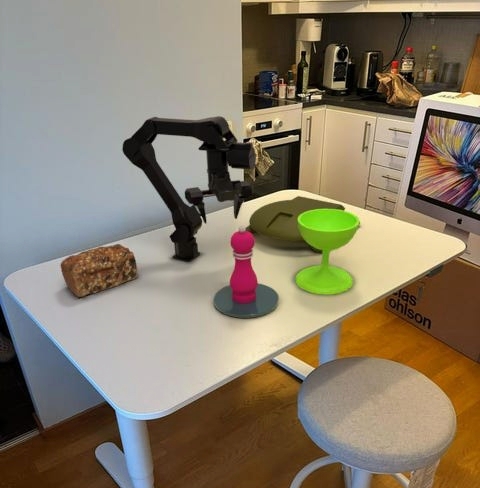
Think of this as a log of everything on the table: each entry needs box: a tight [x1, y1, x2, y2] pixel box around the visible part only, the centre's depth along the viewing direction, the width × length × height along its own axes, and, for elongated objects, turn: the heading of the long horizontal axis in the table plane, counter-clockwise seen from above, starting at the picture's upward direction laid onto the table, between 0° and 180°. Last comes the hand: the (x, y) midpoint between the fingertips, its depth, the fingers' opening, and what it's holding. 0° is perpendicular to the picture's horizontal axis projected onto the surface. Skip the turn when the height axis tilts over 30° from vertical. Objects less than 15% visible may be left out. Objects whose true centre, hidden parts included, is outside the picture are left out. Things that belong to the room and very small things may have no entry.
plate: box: [213, 282, 280, 319], centre depth 130 cm, size 17×17×1 cm
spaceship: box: [245, 195, 361, 253], centre depth 165 cm, size 35×31×10 cm
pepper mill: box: [229, 225, 259, 303], centre depth 124 cm, size 7×7×20 cm
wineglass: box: [295, 209, 360, 296], centre depth 134 cm, size 16×16×18 cm
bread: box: [59, 243, 138, 298], centre depth 139 cm, size 19×11×10 cm, turn 127°
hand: (220, 220), depth 144 cm, fingers open, 9 cm apart
